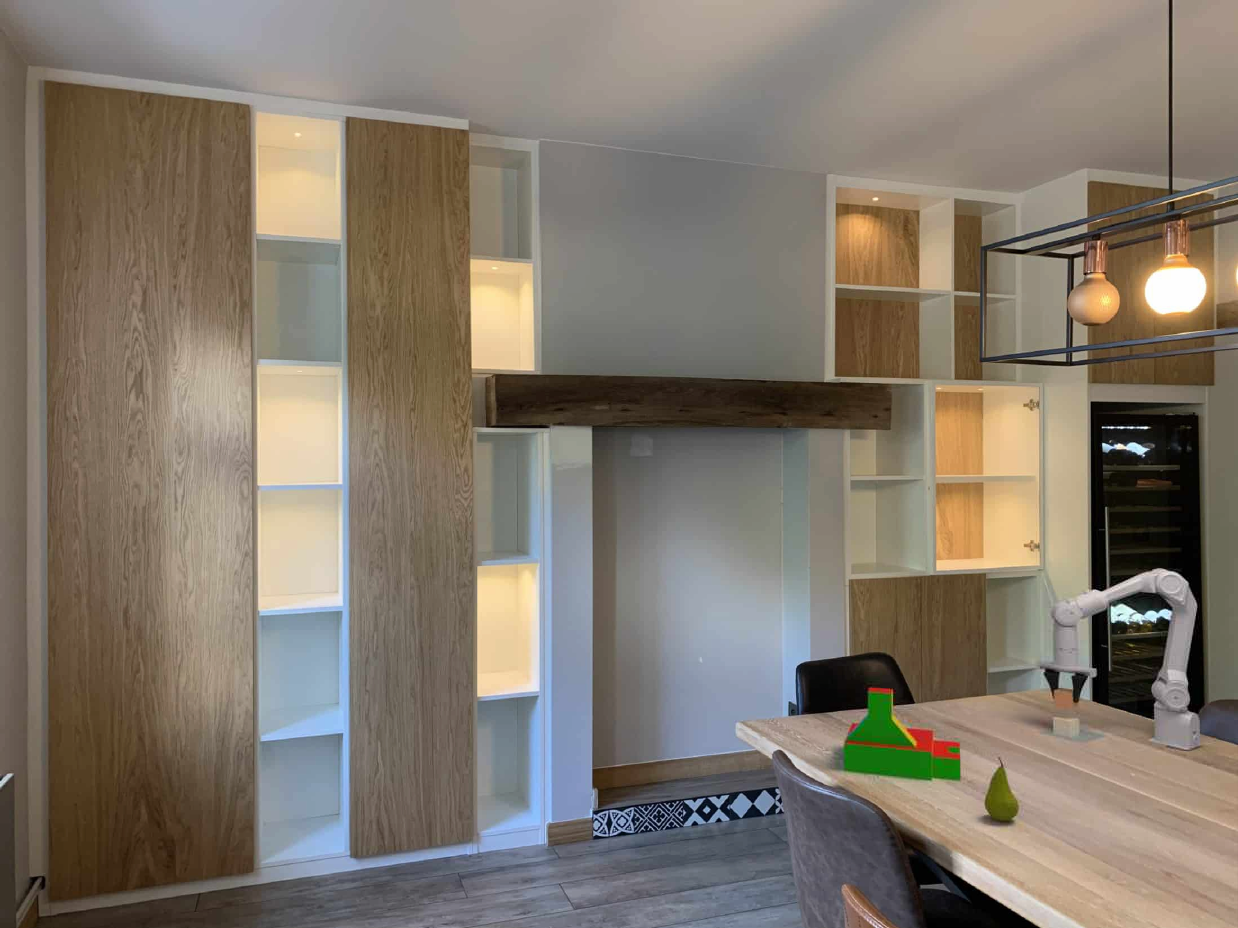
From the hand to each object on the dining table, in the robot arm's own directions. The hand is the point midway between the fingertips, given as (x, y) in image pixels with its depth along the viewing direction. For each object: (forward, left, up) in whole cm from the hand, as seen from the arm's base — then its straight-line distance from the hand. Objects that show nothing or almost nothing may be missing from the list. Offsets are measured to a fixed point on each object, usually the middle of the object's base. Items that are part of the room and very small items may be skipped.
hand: (1065, 700), depth 232 cm
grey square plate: (-1, -1, -9) cm, 9 cm away
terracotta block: (0, 0, -2) cm, 2 cm away
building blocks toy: (+9, +56, -10) cm, 58 cm away
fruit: (-24, +69, -9) cm, 74 cm away
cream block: (0, 0, -9) cm, 9 cm away
